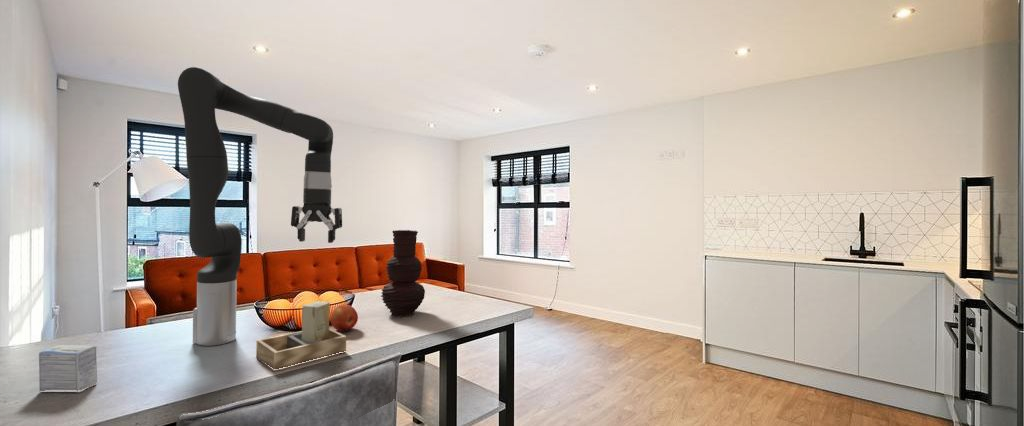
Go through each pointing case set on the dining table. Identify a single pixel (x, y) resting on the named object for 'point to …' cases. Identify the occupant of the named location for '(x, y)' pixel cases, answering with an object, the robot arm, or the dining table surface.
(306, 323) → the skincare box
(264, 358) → the walled box
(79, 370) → the grey striped block
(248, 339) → the dining table surface
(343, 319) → the apple
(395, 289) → the vase
